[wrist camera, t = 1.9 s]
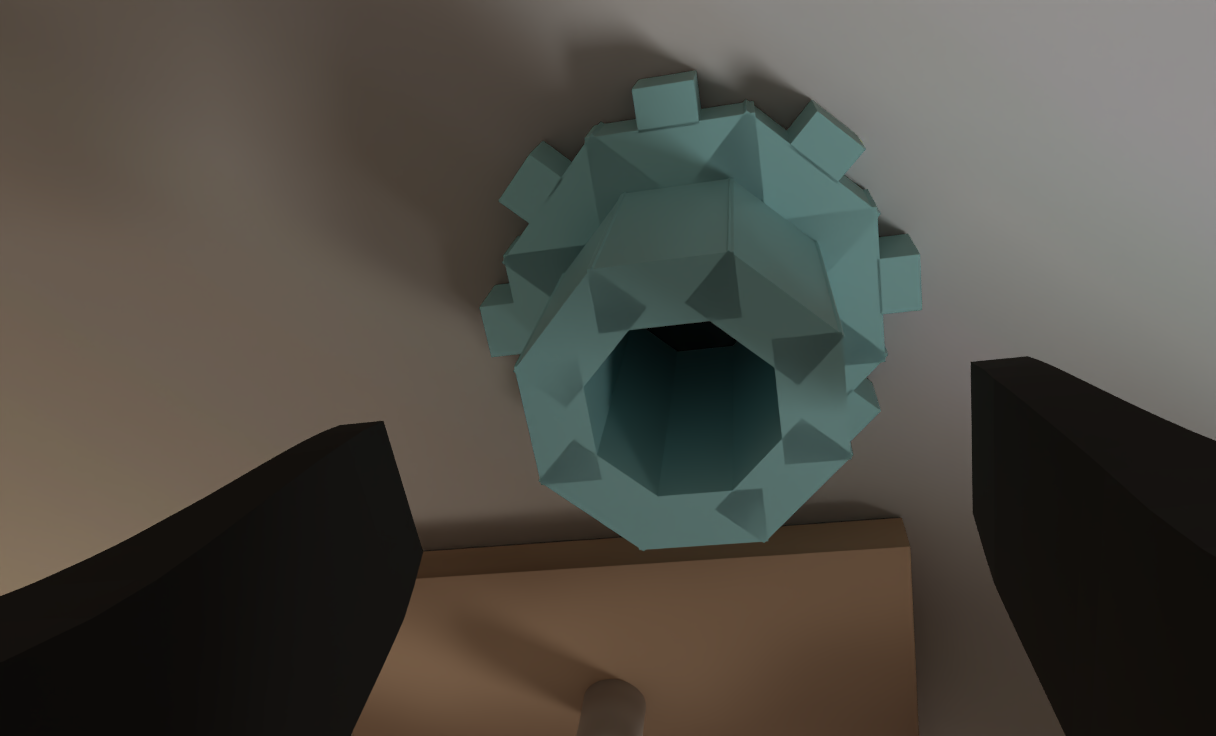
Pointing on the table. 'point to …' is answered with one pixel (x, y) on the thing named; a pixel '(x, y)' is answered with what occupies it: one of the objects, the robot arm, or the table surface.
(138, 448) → the table surface
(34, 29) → the table surface
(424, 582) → the gear carrier
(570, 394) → the gear
